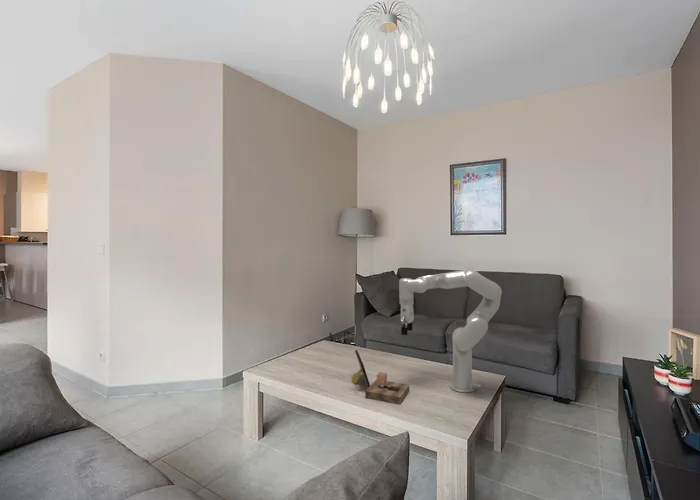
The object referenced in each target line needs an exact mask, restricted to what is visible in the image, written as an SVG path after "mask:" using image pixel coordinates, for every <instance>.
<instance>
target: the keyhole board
mask: <svg viewBox="0 0 700 500" xmlns="http://www.w3.org/2000/svg"><path fill="white" fill-rule="evenodd" d="M409 392H410V384H408V383H402V382H398V381H397V382H396V381H390V380H387V382H386V384H385V385H384V388H380V384H377V378H376V379H375V380H374V381H373V382H372V384H370V387H369V388H368V387H367V388H366V390H365V392H364V393H365V394H364V395H365V398H366V399H371V400H375V401H379V402H384V403H390V404H395V405H396V404H397V405H401V404H402V403H403V401H404V399H406V397H407V395H408V394H409Z"/></svg>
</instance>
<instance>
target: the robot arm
mask: <svg viewBox="0 0 700 500" xmlns="http://www.w3.org/2000/svg"><path fill="white" fill-rule="evenodd" d="M398 281H399V282H398V283H399V284H398V285H399V286H398V288H399V289H398V291H399V292H398V293H399V294H398V295H399V305H400V331H401V333H400V334H401V336H408V331H413V321H414V320H415V318H414V317H415V316H414V315H415V312H414V303H415V302H414V293H418V294H423V293H425V292H427V290H431V289H432V290H433V289H444V290H451V289H456V288H462V287H463V288H465V287H468V288H469V289H471V290H473V291H474V292H476V293H477V294H479V295H481V296H482V300H481V302H480V303H479V305H478V306H476V308H475V309H474V311H472V313H470V315H469V316H467V319H466V325H465V326H464V327H462V326H461V327H456V329H454V331H453V333H452V337H451V339H452V381H451V382H450V384H449V387H450V389H452V390H453V391H455V392H458V393H467V394H468V393H472V392H475V390H476V388H477V389H481V387H482V384H481V383H479V382H478V381H476V382H475V381H474V378H473V350H472V349H473V348H474V347H475V346H476V345H477V344H478V343H479V342H480V341H481V340H482V339H483V337H484V336H485V335H486V333H487V332H488V329H489V322H490V320H491V319H492V318H493V316H494V315H495V314H496V313H497V311H498V310H499V309H500V305H501V297H502V294H503V291H502V288H501V287H500V285H498V283H496V282H495V281H492V280H490V279H488V278H487V277H485V276H483V275H482V274H480V273H479V272H478V271H477V270H475V269H472V268H471V269H470V268H468V269H465V270H464V269H463V270H457V271H450V272H445V273H437V274H432V275H431V274H429V275H424V276H422V275H421V276H419V277H417V278H415V279H413V278H407V277H404V278H403V277H402V278H400V279H399V280H398Z"/></svg>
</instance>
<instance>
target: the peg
mask: <svg viewBox="0 0 700 500" xmlns="http://www.w3.org/2000/svg"><path fill="white" fill-rule="evenodd" d="M376 379H377V384H380V388H384V385H385V384H386V382H387V381H388V374H387V373H386V372H378V373H377V374H376Z"/></svg>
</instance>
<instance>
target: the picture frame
mask: <svg viewBox="0 0 700 500" xmlns="http://www.w3.org/2000/svg"><path fill="white" fill-rule="evenodd" d="M354 353H355V355H356V358H357V361H358V365H359V368H360V369H359V370H358V371H357V372H356V373H355V374H354V375H353V376H352V379H351V383H352V384H353V385H356V384H357V382H358V381H359V378H360V377H361V375H362V377H363V379H364V382H365V384H366V386H367V389H368V388H369V387H370V386H371V384H370V381H369V377H368V375H367V371H366V368H365V365H364V362H363V361H362V358H361V355H360V353H359V351H358V349H356V350H354Z"/></svg>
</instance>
